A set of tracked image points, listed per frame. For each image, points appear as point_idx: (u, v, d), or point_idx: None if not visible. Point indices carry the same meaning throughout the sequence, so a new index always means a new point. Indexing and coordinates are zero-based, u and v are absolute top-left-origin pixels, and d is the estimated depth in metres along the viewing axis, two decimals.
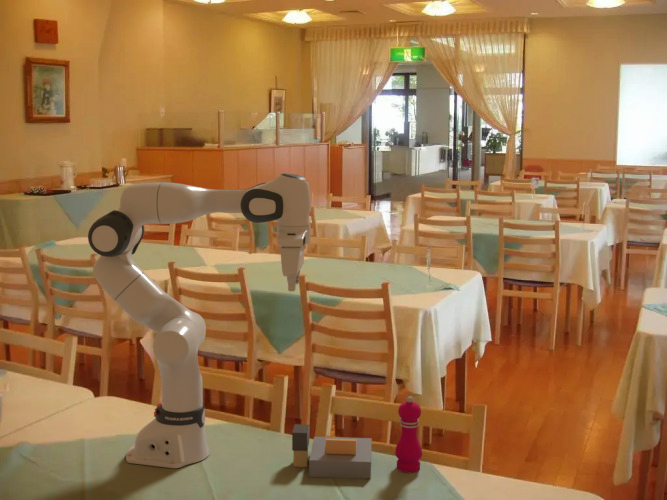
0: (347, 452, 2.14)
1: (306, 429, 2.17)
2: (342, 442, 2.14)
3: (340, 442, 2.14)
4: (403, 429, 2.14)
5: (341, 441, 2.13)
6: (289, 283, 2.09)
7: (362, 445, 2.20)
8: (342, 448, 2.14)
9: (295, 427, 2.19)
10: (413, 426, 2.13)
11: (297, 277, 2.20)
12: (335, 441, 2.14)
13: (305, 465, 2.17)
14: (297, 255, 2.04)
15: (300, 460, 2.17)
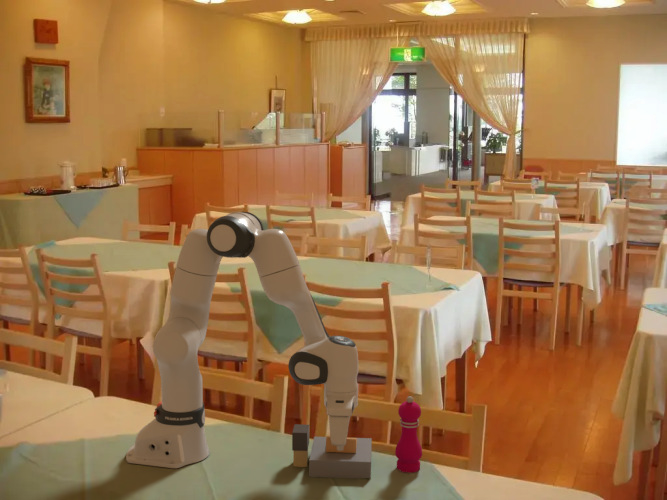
0: (347, 450, 2.15)
1: (306, 429, 2.17)
2: None
3: None
4: (403, 429, 2.14)
5: None
6: None
7: (362, 445, 2.20)
8: None
9: (295, 427, 2.19)
10: (413, 426, 2.13)
11: None
12: None
13: (305, 465, 2.17)
14: (346, 425, 2.02)
15: (300, 460, 2.17)
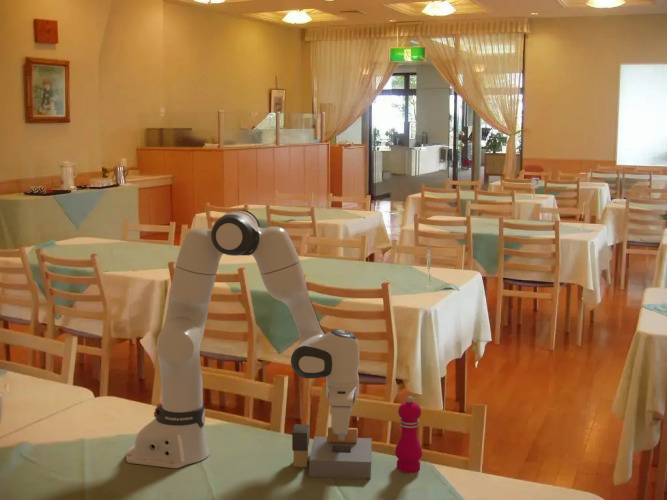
0: (348, 440, 2.22)
1: (306, 429, 2.17)
2: None
3: None
4: (403, 429, 2.14)
5: None
6: None
7: (362, 445, 2.20)
8: None
9: (295, 427, 2.19)
10: (413, 426, 2.13)
11: None
12: None
13: (305, 465, 2.17)
14: (348, 415, 2.09)
15: (300, 460, 2.17)
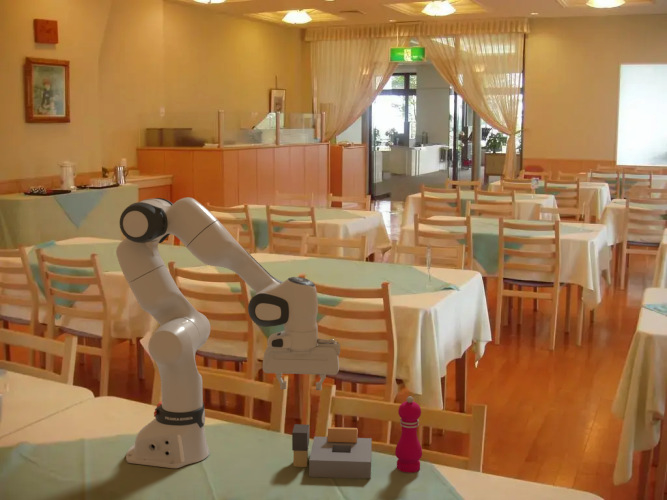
0: (348, 440, 2.22)
1: (306, 429, 2.17)
2: (344, 431, 2.22)
3: (341, 430, 2.22)
4: (403, 429, 2.14)
5: (342, 430, 2.21)
6: None
7: (362, 445, 2.20)
8: (343, 436, 2.22)
9: (295, 427, 2.19)
10: (413, 426, 2.13)
11: (317, 383, 2.15)
12: (337, 430, 2.22)
13: (305, 465, 2.17)
14: (264, 353, 2.13)
15: (300, 460, 2.17)
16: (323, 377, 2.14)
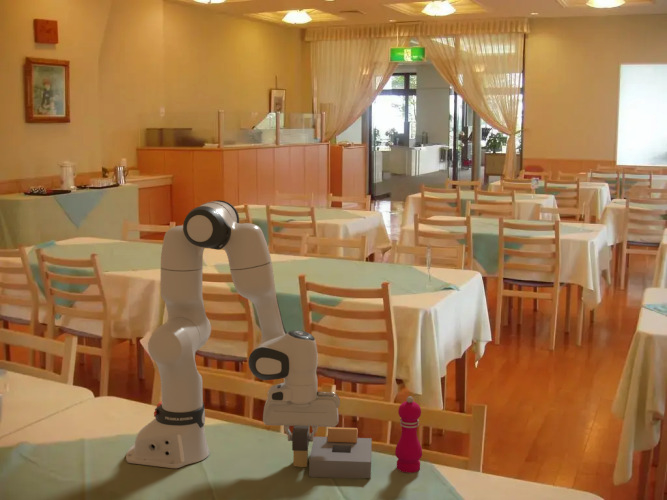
0: (348, 440, 2.22)
1: (306, 429, 2.17)
2: (344, 431, 2.22)
3: (341, 430, 2.22)
4: (403, 429, 2.14)
5: (342, 430, 2.21)
6: None
7: (362, 445, 2.20)
8: (343, 436, 2.22)
9: (295, 427, 2.19)
10: (413, 426, 2.13)
11: (309, 435, 2.17)
12: (337, 430, 2.22)
13: (305, 465, 2.17)
14: (264, 406, 2.15)
15: (300, 460, 2.17)
16: (315, 429, 2.17)
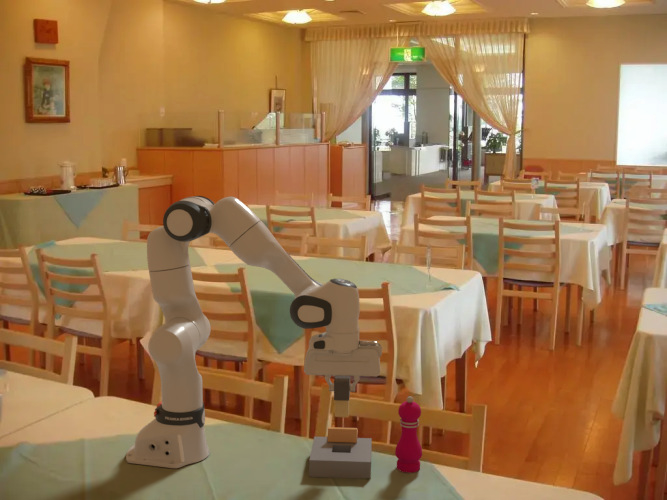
0: (348, 440, 2.22)
1: (348, 379, 2.14)
2: (344, 431, 2.22)
3: (341, 430, 2.22)
4: (403, 429, 2.14)
5: (342, 430, 2.21)
6: None
7: (362, 445, 2.20)
8: (343, 436, 2.22)
9: (336, 377, 2.16)
10: (413, 426, 2.13)
11: (351, 385, 2.15)
12: (337, 430, 2.22)
13: (347, 415, 2.15)
14: None
15: (341, 410, 2.14)
16: (357, 379, 2.14)
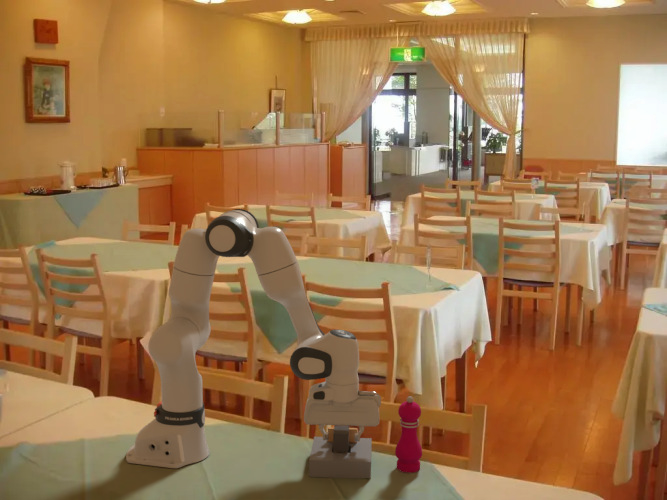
0: None
1: (347, 430, 2.17)
2: None
3: None
4: (403, 429, 2.14)
5: None
6: None
7: (362, 445, 2.20)
8: None
9: (335, 428, 2.18)
10: (413, 426, 2.13)
11: (356, 434, 2.17)
12: None
13: None
14: None
15: None
16: (362, 428, 2.16)
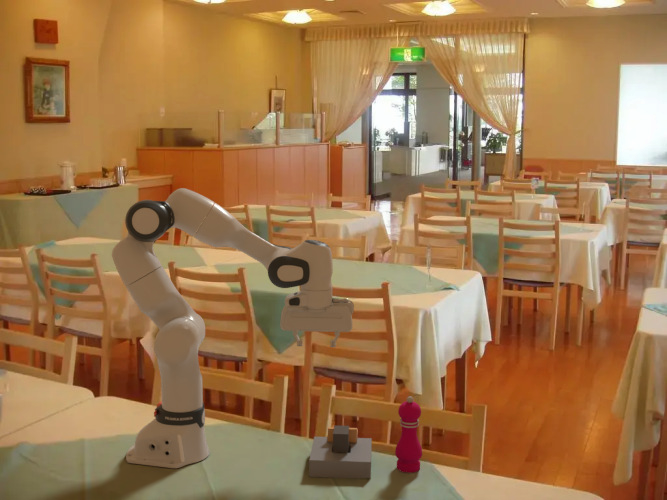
0: None
1: (346, 430, 2.17)
2: None
3: None
4: (403, 429, 2.14)
5: None
6: None
7: (362, 445, 2.20)
8: None
9: (335, 428, 2.18)
10: (413, 426, 2.13)
11: (332, 340, 2.27)
12: None
13: None
14: None
15: None
16: (337, 334, 2.26)
